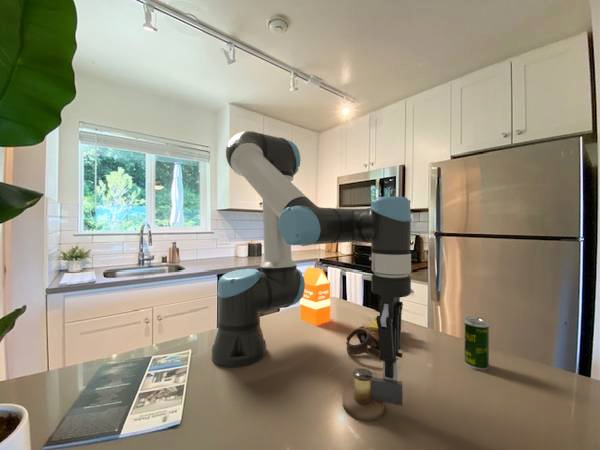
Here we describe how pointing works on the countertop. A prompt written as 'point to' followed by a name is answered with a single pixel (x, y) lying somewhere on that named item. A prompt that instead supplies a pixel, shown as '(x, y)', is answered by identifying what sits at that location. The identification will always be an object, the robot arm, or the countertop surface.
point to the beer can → (477, 343)
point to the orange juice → (315, 297)
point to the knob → (375, 388)
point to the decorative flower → (372, 325)
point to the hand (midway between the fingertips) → (390, 390)
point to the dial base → (361, 408)
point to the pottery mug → (362, 341)
